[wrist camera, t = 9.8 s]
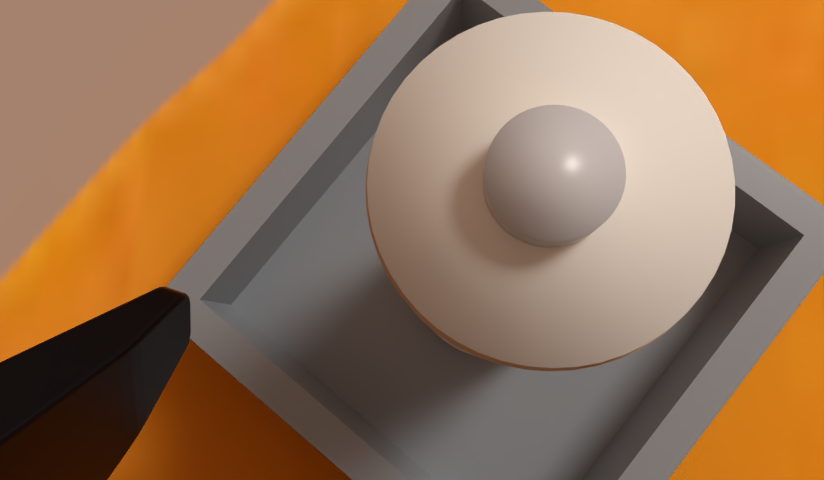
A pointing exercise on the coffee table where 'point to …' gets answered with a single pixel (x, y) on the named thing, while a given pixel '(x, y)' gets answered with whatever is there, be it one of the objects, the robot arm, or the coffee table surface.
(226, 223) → the bin
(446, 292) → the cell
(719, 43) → the coffee table surface
